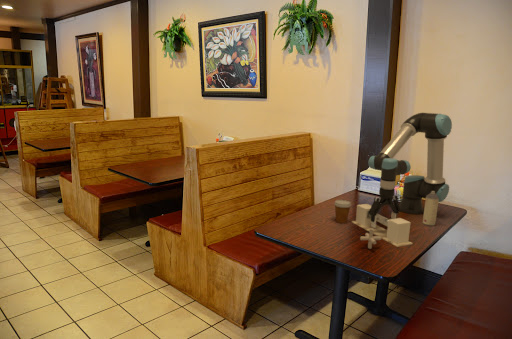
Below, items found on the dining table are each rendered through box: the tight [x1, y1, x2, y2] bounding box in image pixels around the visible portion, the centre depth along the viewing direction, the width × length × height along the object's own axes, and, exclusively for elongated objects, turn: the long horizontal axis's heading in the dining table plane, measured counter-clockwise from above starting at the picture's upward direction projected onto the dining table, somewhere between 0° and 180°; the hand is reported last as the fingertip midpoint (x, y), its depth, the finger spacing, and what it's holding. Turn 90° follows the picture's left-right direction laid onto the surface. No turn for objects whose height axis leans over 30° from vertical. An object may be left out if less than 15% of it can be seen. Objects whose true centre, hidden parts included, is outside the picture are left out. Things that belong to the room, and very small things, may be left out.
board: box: [350, 220, 413, 248], centre depth 205 cm, size 37×10×1 cm, turn 23°
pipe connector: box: [359, 228, 382, 250], centre depth 184 cm, size 10×10×10 cm
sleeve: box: [355, 203, 372, 227], centre depth 215 cm, size 8×7×11 cm
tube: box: [367, 211, 391, 228], centre depth 201 cm, size 24×4×4 cm, turn 23°
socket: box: [386, 217, 412, 244], centre depth 192 cm, size 7×8×11 cm
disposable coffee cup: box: [334, 199, 352, 224], centre depth 219 cm, size 10×10×12 cm
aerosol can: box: [422, 191, 439, 227], centre depth 218 cm, size 7×7×20 cm
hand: (383, 225), depth 202 cm, fingers open, 13 cm apart
